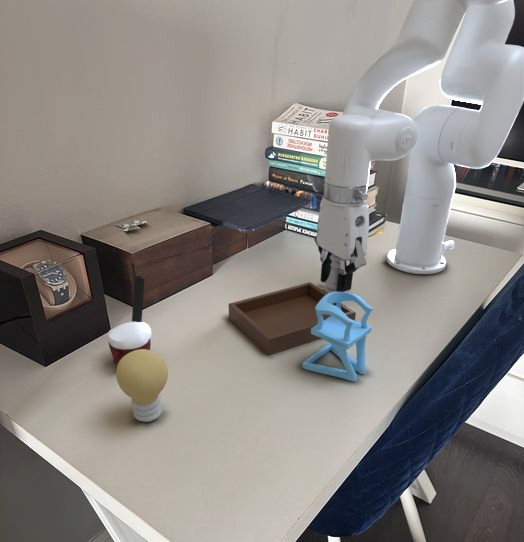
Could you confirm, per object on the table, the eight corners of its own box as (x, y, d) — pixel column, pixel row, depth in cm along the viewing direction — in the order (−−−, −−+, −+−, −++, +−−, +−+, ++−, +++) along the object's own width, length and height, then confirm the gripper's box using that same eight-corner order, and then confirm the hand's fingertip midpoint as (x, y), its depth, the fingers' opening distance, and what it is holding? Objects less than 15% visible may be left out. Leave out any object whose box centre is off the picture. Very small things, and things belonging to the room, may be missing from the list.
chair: (346, 389, 74) (356, 318, 67) (300, 367, 79) (305, 298, 72) (373, 366, 79) (385, 298, 72) (329, 347, 83) (336, 280, 77)
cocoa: (122, 379, 75) (110, 308, 69) (97, 363, 79) (83, 294, 72) (170, 352, 81) (164, 285, 75) (145, 339, 85) (137, 273, 78)
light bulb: (114, 414, 69) (103, 353, 63) (154, 394, 73) (146, 334, 67) (141, 438, 65) (131, 375, 60) (181, 415, 69) (175, 354, 63)
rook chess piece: (347, 287, 102) (352, 250, 97) (344, 297, 98) (349, 259, 94) (325, 284, 103) (329, 247, 98) (321, 294, 99) (325, 256, 95)
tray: (309, 295, 99) (310, 281, 97) (354, 327, 89) (356, 312, 87) (228, 318, 91) (228, 303, 89) (268, 355, 81) (268, 339, 80)
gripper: (394, 202, 85) (378, 298, 96) (332, 178, 97) (324, 266, 108) (359, 209, 82) (347, 308, 92) (300, 183, 94) (295, 273, 104)
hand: (335, 284), depth 100 cm, fingers closed on rook chess piece, 4 cm apart
